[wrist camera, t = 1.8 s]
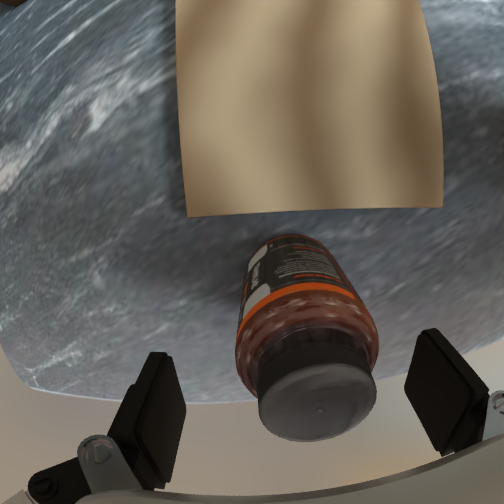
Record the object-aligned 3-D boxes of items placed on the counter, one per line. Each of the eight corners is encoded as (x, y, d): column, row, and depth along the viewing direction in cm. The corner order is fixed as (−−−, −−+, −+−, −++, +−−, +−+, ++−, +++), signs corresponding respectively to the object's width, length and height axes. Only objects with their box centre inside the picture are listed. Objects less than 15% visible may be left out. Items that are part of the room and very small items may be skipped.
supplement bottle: (229, 253, 19) (190, 373, 8) (318, 217, 18) (392, 301, 7) (265, 328, 20) (267, 469, 10) (346, 297, 20) (410, 423, 9)
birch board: (405, -16, 12) (411, -22, 11) (433, 204, 17) (442, 207, 16) (180, -22, 13) (176, -30, 12) (192, 213, 18) (187, 217, 17)
